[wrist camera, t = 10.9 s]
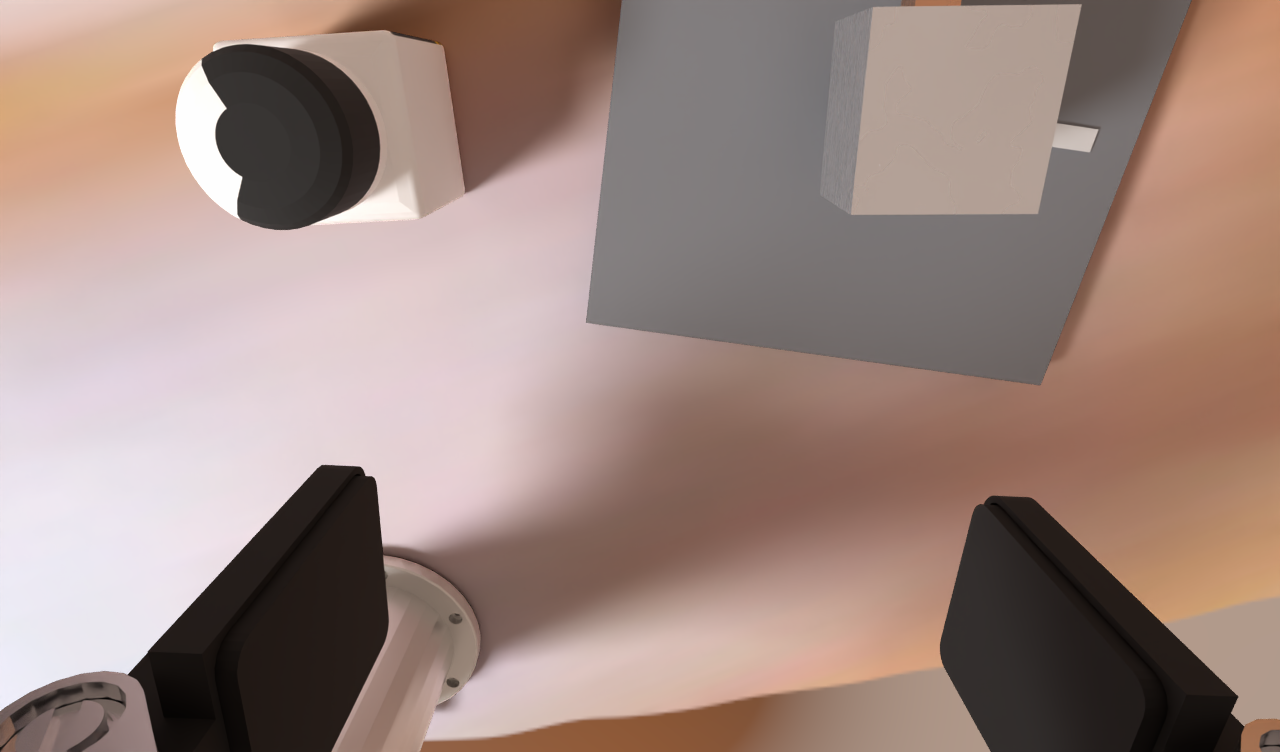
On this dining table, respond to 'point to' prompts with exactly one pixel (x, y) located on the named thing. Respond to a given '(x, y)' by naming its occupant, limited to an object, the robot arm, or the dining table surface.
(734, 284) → the base board
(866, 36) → the mallet
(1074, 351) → the dining table surface
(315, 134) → the medicine bottle
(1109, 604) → the robot arm
